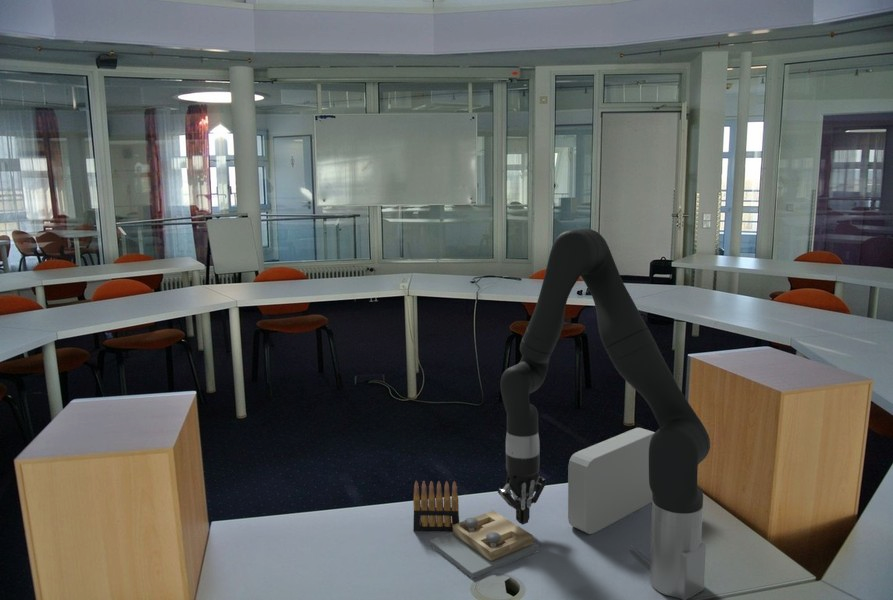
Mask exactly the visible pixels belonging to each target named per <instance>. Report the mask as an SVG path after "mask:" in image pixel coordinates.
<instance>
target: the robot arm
mask: <svg viewBox="0 0 893 600" xmlns="http://www.w3.org/2000/svg"><path fill="white" fill-rule="evenodd" d="M580 277H581V279H582V280H583V281H584V284H585V286H586V287H587V289H588V291H589V293H590V295H591V297H592V300H593V302H594V307H595V312H596V321H597V327H598V333H599V338H600V340H601V342H602V345H603V347H604V349H605V352H606V354H607V355H608V357H609V359H610V361H611V363H612V364H613V366H614V368H615V369H616V371H617V372H618V374H619V375H620V376H621V377H622V378H623V379H624V381H626V382H627V384H629V385H630V386H631V387H632V388H633V389H634V390H635V391H636V392H638V394H640V396H641V397H642V398H643V399H644V400H645V402H646V403H647V404H648V406H649V408H650V410H651V411H652V413H653V416H654V418H655V420H656V421H657V423H658V426H659V428H658V429H657V430H656V431H655V433H654V434H653V436H652V438H651V440H650V444H649V485H650V489H651V491H652V502H651V530H650V531H651V533H650V536H651V537H650V538H651V539H650V571H649V573H650V574H649V583H650V585H651V586H652V587H653V588H654V589H655V590H656V591H657V592H659V593H661V594H662V595H664V596H668V597H673V598H678V599H681V600H688V599H690V598H692V597H694V596H695V595H697V594H700V592H703V591H704V590H705V575H706V574H705V573H706V555H707V554H706V553H707V552H706V551H707V550H706V548H707V546H706V544H705V543H703V542H702V532H703V529H702V528H703V509H704V508H703V507H704V493H703V490H702V489H701V488H700V487H699V486H698V474H699V473H698V471H699V469H698V468H699V465H700V464H701V462H703V461H704V459H706V458H707V456H708V454H709V453H710V449H711V440H710V439H711V438H710V436H709V433H708V431H707V429H706V428H705V426H704V424H703V423H702V421H701V419H700V418H699V416H698V415H697V414H696V412H695V410H694V409H693V408H692V406H691V404H690V402H689V401H688V400H687V398H686V397H685V395H684V394H683V393H682V391H681V389H680V387H679V385H678V383H677V381H676V380H675V378H674V375H673V374H672V372H671V370H670V368H669V366H668V364H667V363H666V362H667V361H665V358H664V357H663V355H662V352H661V351H660V349H659V346H658V345H657V342H656V340H655V338H654V336H653V335H652V333H651V331H650V329H649V327H648V326H647V324H646V322H645V319H643V317H642V315H641V313H640V311H639V310H638V307H637V306H636V304H635V301H634V300H633V298H632V297H631V295H630V293H629V291H628V289H627V287H626V285H625V284H624V281H623V279H622V277H621V275H620V272H619V270H618V266H617V264H616V262H615V259H614V257H613V254H612V252H611V249H610V248H609V245H608V243H607V241H606V240H605V238H604V237H603V235H602V234H600V233H599V232H598V231H596V230H594V229H591V228H577V229H570V230H569V229H568V230H565V231H562V233H560V234H559V235H558V236H557V237H556V238H555V240H554V242H553V243H552V246H551V249H550V253H549V256H548V261H547V265H546V270H545V272H544V277H543V280H542V285H541V287H540V292H539V295H538V299H537V302H536V304H535V308H534V310H533V313H532V315H531V318H530V320H529V323H528V325H527V327H526V329H525V332H524V334H523V336H522V339H521V341H520V344H519V351H520V354H521V355H522V356H521V359H520V361H519V362H518V363H517V364H515V365H512V366H510V367H508V368H506V369H505V370H504V372H503V373H502V374H501V378H500V383H499V384H500V385H499V387H500V393H501V397H502V402H503V407H504V409H505V411H506V412H505V413H506V436H505V469H506V473H507V476H506V481H505V485H504V486H503V488H501V487H499V488H498V489H497V493H498V494H499V495H500V497H501V498H502V499H503V500H504V501H505V503H507V505H508V506H509V507H511V508H513V509H514V510H515V520H516V521H517V523H519V524H521V525H525V524H528V523H529V521H530V511H531V510H530V508H531V506H532V504H536V503H537V501H538V500H539V498H540V495H541V494H542V492H543V490H544V488H545V486H546V485H547V481H548V480H547V479H546V478H544V477H542V476H540V473H539V471H540V436H539V411H538V409H537V407H536V406H535V405H534V404H532V403H531V402H530V394H532V393H534V392H536V391H538V390H539V388H541V386H542V384H543V383H544V381H545V379H546V377H547V374H548V369H549V366H550V365H549V364H550V357H551V356H552V354H553V351H554V350H555V347H556V345H557V344H558V343H557V342H558V340H559V339H560V336H561V333H562V332H563V331H562V330H563V328H564V321H565V316H566V315H565V312H566V305H567V302H568V299H569V297H570V294H571V292H572V289H573V288H574V286H575V285H576V283H577V282H578V280H579V278H580Z"/></svg>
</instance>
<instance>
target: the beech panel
mask: <svg viewBox="0 0 893 600" xmlns="http://www.w3.org/2000/svg"><path fill="white" fill-rule="evenodd" d="M473 518H475V519H477V520H478V526H476V527H474V529H475V530H476V531H473V532H470V533H469V532H467V531H468V530H469V527H466V526H465V520H463V521H459V523H457V524H454V525H453V534H454V535H456V536H457V537H459V538H460V539H461V540H463V541H464V542H465V543H467V544H468V545H470V546H471V547H472V548H474V549H475V550H477V551H478V552H479V553H481V554H482V555H483V556H485V557H486V558H488V559H489V560H490V561H492V560H494V559H497V558H499V557H502V556H504V555H507V554H509V553H512V552H514V551H516V550H519V549H521V548H524V547H526V546H529V545H531V544H533V542H534V535H533V534H531V533H530V532H529V531H527V530H525V529H524V528H523V527H521V526H518V525H517V524H515V523H514V522H512V521H511V520H509V519H507V518H506V517H505V516H503V515H501V514H500V513H498V512H496V511H495V510H491V511H488V512H486V513H483V514H480V515H477V516H475V517H474V516H473ZM480 528H481V529H480ZM477 529H478V530H477ZM491 532H495V533H498V534H500V541H499V542H497V543H496V544H497V545H499V544H502V543H504V544H502V545H499V546H497V547H494V548H490V547H489V546H490V545H491V543H490V542H488V541H487V540H486V535H487V534H488V533H491Z"/></svg>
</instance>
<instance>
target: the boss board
mask: <svg viewBox="0 0 893 600" xmlns="http://www.w3.org/2000/svg"><path fill="white" fill-rule="evenodd" d="M464 521H465V526H466V527H469V530H468V531H467V532H469V533H470V532H473V531H476V530H475V529H474V527H476V526H478V520H477V519H475V518H474V517H467V518H465V519H464ZM480 529H481V528H480ZM477 530H478V529H477ZM486 540H487V541H488V542H490V543H491V545H490V546H489V547H490V548H494V547H497V546H499V545H502V544H504V543H502V544H499V545H497V544H496V543H497V542H499V541H500V534H498V533H495V532H491V533H488V534H487V535H486ZM429 546H430V547H432V548H433V549H434V550H435V551H436V552H438V553H439V554H441V555H442V556H443V557H444V558H446V559H447V560H448V561H449V562H450V563H452V564H453V565H454V566H455V567H457V568H458V569H460V570H461V571H462V572H463V573H465V574H466V575H467V576H468V577H469V578H471V579H475V578H478V577H480V576H483V575H485V574H487V573H490V572H492V571H495V570H497V569H499V568H502V567H503V566H507V565H508V564H511V563H513V562H516V561H518V560H520V559H523V558H525V557H527V556H531V555H533V554H534V553H535V554H536V553H538V552H540V545H539V544H538V543H536V542H535V541H533V544H531V545H529V546H526V547H524V548H521V549H519V550H516V551H514V552H512V553H509V554H507V555H504V556H502V557H499V558H497V559H494V560H492V561H490V560H489V559H488V558H486V557H485V556H483V555H482V554H481V553H479V552H478V551H477V550H475V549H474V548H472V547H471V546H470V545H468V544H467V543H465V542H464V541H463V540H461V539H460V538H459V537H457V536H456V535H454V534H453V532H447V533H446V534H444V535H441V536H438V537H434V538H433V539H430V540H429Z"/></svg>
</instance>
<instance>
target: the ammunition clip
mask: <svg viewBox="0 0 893 600" xmlns="http://www.w3.org/2000/svg"><path fill="white" fill-rule="evenodd" d="M449 485H450V484H449V482H448V481H447V480H446V481H445V484H444V490H443V491H444V493H443V491H442V484H441V481H440V480H438V481H437V484H436V496H435V487H434V482H433V481H432V480H431V481H430V483H429V486H428V490H427V485H426V481H425V480H423V481H422V484H421V495H420V487H419V483H418V480H415V482H414V487H413V528H412V530H413V532H427V533H428V532H432V533H433V532H436V533H437V532H439V533H440V532H441V533H442V532H443V533H444V532H446V533H451V532H453V525H454V524H457V523H460V513H459V512H460V511H459V510H460V509H459V508H460V507H459V495H458V487H457V483H456V481H455V480H454V481H453V482H452V487H451V493H450V486H449Z"/></svg>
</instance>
